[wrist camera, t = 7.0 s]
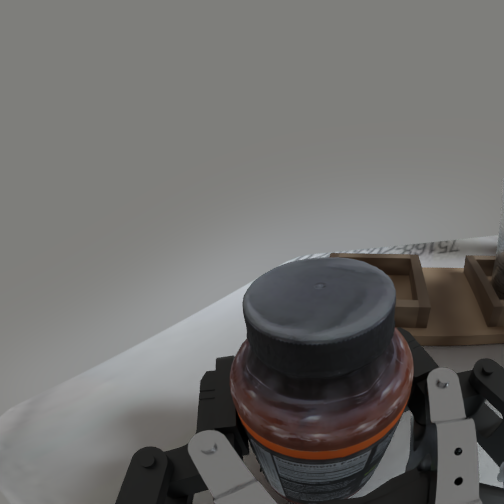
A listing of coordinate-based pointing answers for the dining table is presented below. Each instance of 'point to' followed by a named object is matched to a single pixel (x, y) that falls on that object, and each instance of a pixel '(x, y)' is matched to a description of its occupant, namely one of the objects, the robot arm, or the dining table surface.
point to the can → (499, 257)
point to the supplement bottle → (321, 376)
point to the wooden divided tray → (442, 299)
